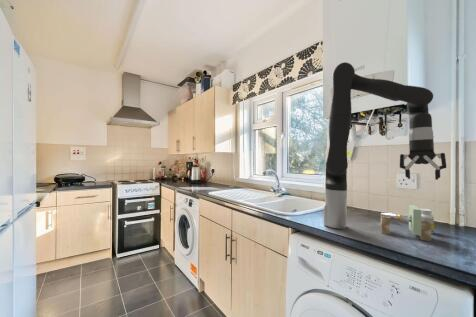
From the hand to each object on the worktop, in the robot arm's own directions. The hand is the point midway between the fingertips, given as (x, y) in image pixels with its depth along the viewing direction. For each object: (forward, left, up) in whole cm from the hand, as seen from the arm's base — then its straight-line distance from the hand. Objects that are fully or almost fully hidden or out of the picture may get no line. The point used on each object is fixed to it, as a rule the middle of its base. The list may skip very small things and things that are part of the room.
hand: (422, 179), depth 86 cm
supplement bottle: (+3, +12, -24) cm, 27 cm away
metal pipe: (-6, +1, -18) cm, 19 cm away
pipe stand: (-6, +1, -24) cm, 25 cm away
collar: (-2, +1, -22) cm, 22 cm away
